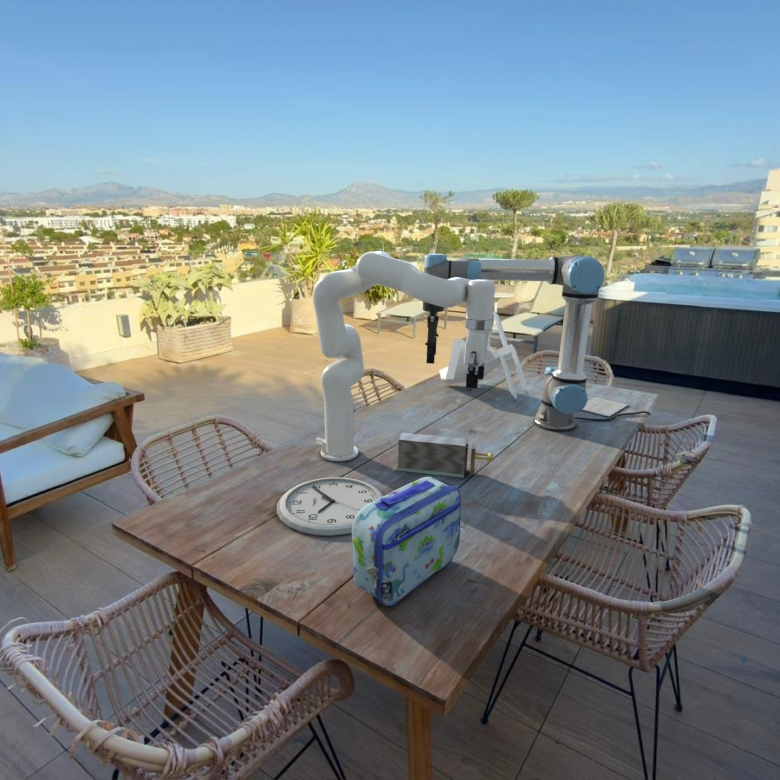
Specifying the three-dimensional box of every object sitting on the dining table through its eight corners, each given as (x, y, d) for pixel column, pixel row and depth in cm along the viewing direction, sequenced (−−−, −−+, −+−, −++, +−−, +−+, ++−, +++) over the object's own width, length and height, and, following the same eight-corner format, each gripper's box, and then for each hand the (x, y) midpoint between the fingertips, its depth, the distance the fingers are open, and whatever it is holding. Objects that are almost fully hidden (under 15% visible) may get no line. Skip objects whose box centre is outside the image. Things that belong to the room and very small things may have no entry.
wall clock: (392, 527, 129) (268, 531, 127) (391, 533, 130) (269, 537, 127) (383, 473, 158) (282, 475, 155) (383, 478, 158) (282, 480, 156)
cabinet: (465, 469, 166) (467, 438, 162) (463, 477, 160) (465, 446, 157) (401, 462, 169) (402, 432, 166) (397, 470, 164) (398, 439, 161)
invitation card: (608, 416, 214) (573, 407, 224) (608, 416, 214) (573, 408, 224) (628, 404, 229) (594, 396, 238) (628, 405, 229) (594, 397, 238)
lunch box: (381, 619, 101) (382, 525, 95) (345, 592, 109) (344, 503, 102) (464, 563, 119) (469, 480, 113) (428, 543, 126) (432, 464, 120)
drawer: (491, 470, 163) (494, 444, 160) (491, 477, 159) (493, 450, 156) (412, 462, 168) (413, 436, 165) (410, 468, 163) (411, 442, 161)
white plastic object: (461, 429, 252) (437, 405, 227) (444, 352, 274) (420, 323, 250) (535, 404, 240) (518, 377, 215) (510, 326, 262) (492, 293, 237)
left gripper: (471, 319, 156) (468, 374, 161) (458, 328, 140) (455, 389, 145) (496, 320, 153) (492, 377, 158) (486, 331, 138) (482, 393, 143)
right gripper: (425, 294, 195) (423, 350, 201) (420, 304, 171) (418, 366, 177) (445, 295, 194) (442, 351, 200) (443, 304, 170) (440, 367, 177)
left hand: (474, 383), depth 152 cm, fingers open, 9 cm apart
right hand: (431, 358), depth 189 cm, fingers open, 13 cm apart
